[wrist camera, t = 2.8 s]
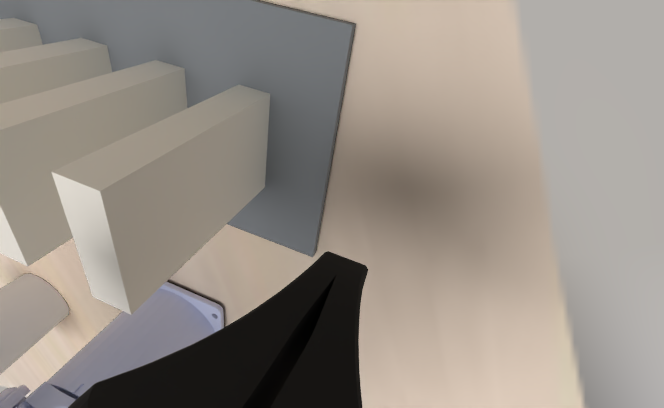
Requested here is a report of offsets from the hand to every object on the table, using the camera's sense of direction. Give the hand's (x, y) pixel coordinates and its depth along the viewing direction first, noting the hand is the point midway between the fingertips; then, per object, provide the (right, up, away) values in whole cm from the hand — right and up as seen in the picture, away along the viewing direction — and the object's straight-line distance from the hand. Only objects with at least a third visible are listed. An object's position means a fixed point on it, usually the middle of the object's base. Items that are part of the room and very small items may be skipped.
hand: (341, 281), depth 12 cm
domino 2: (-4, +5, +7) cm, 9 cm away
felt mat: (-15, +9, +9) cm, 20 cm away
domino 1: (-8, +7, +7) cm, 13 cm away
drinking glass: (-29, -7, +26) cm, 40 cm away
